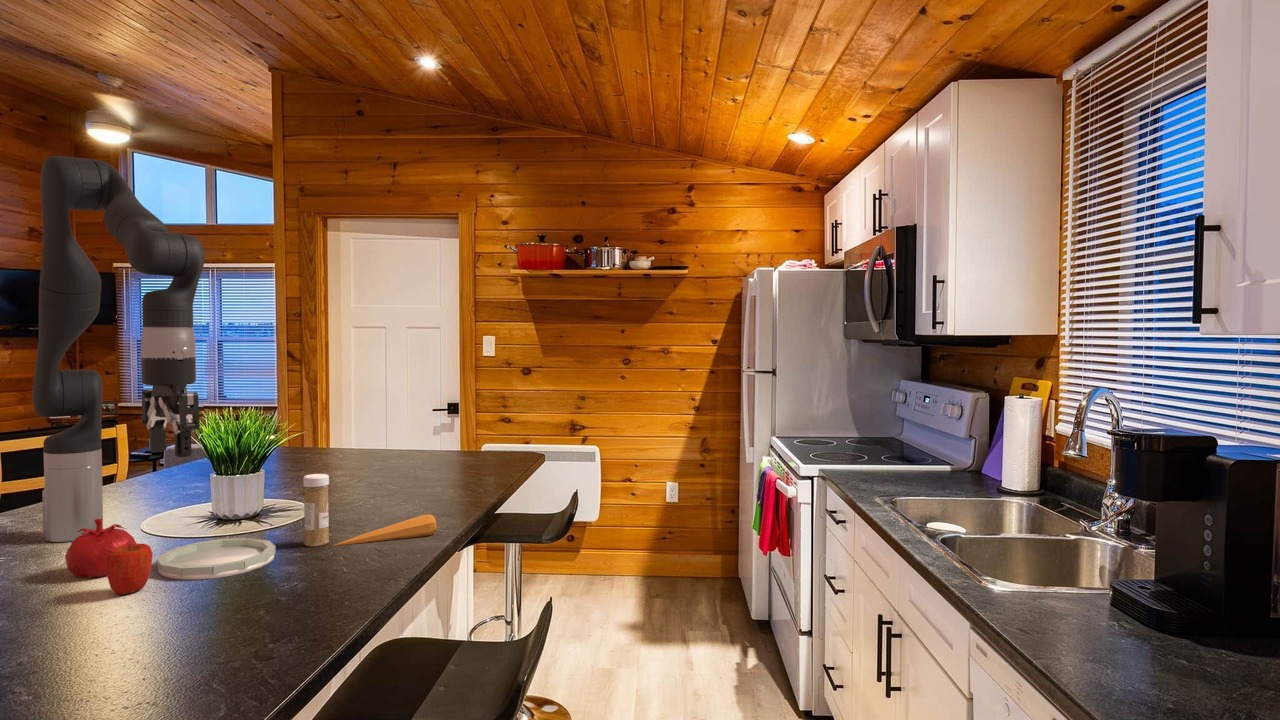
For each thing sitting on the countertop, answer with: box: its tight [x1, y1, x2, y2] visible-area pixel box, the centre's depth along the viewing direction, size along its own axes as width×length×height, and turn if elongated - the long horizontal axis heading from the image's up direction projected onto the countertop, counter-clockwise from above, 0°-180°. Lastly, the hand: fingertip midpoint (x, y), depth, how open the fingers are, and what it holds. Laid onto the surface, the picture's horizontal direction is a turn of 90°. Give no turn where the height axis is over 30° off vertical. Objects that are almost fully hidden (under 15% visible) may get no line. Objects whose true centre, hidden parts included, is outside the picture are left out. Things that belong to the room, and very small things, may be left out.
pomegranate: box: [64, 518, 138, 579], centre depth 128 cm, size 10×10×9 cm
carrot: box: [333, 514, 438, 546], centre depth 150 cm, size 20×4×4 cm, turn 119°
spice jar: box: [303, 473, 330, 548], centre depth 146 cm, size 5×5×13 cm
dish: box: [156, 537, 277, 581], centre depth 134 cm, size 18×18×2 cm
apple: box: [106, 543, 153, 596], centre depth 119 cm, size 6×6×8 cm
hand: (170, 454), depth 123 cm, fingers open, 8 cm apart
